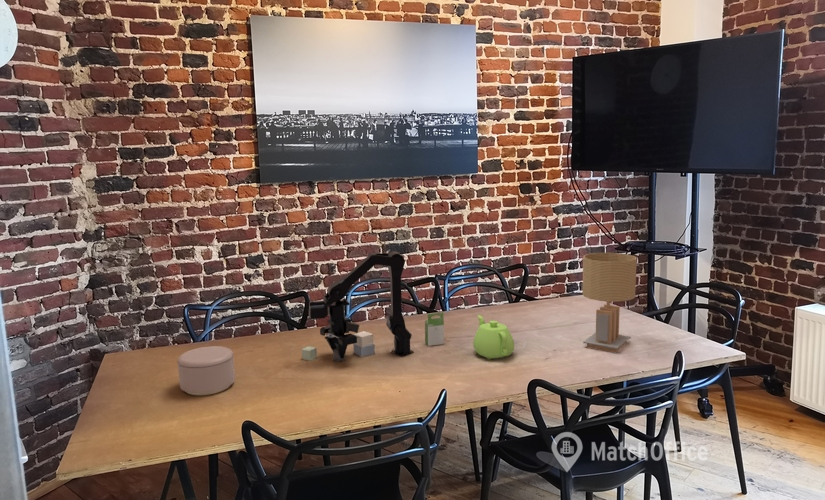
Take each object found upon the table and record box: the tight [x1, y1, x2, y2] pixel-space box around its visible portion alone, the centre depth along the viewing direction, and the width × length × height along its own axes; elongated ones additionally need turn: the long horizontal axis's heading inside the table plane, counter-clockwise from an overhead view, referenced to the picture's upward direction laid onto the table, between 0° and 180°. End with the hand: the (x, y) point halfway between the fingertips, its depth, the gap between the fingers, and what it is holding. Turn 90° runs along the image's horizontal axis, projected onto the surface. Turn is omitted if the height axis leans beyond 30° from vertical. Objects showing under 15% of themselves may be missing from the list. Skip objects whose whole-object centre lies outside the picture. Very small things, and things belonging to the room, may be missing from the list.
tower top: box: [353, 330, 374, 347], centre depth 231 cm, size 5×5×4 cm
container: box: [177, 345, 236, 396], centre depth 202 cm, size 18×18×12 cm
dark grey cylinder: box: [332, 348, 346, 363], centre depth 225 cm, size 4×4×4 cm
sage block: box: [301, 345, 318, 361], centre depth 227 cm, size 4×4×4 cm
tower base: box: [352, 343, 376, 358], centre depth 231 cm, size 6×6×4 cm
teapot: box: [472, 314, 515, 360], centre depth 227 cm, size 22×15×13 cm
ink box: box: [424, 311, 445, 347], centre depth 239 cm, size 7×4×13 cm, turn 106°
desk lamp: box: [581, 252, 638, 353], centre depth 231 cm, size 20×20×35 cm
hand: (339, 356), depth 225 cm, fingers closed on dark grey cylinder, 4 cm apart
